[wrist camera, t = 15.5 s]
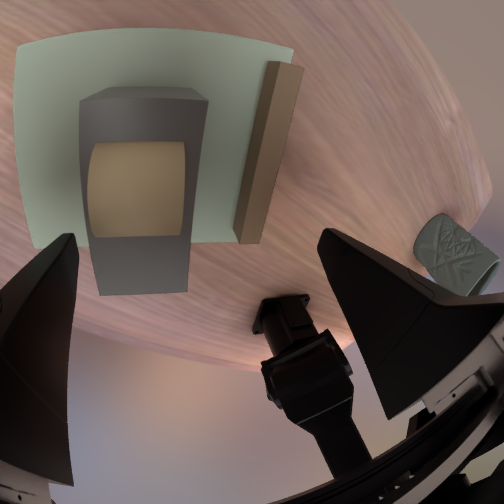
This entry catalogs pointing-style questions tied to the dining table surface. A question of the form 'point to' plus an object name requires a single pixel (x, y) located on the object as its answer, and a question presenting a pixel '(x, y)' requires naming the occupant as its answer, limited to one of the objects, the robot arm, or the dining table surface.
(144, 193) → the tape dispenser
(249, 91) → the lid
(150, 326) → the dining table surface
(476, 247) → the grey-green cup
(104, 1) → the dining table surface
